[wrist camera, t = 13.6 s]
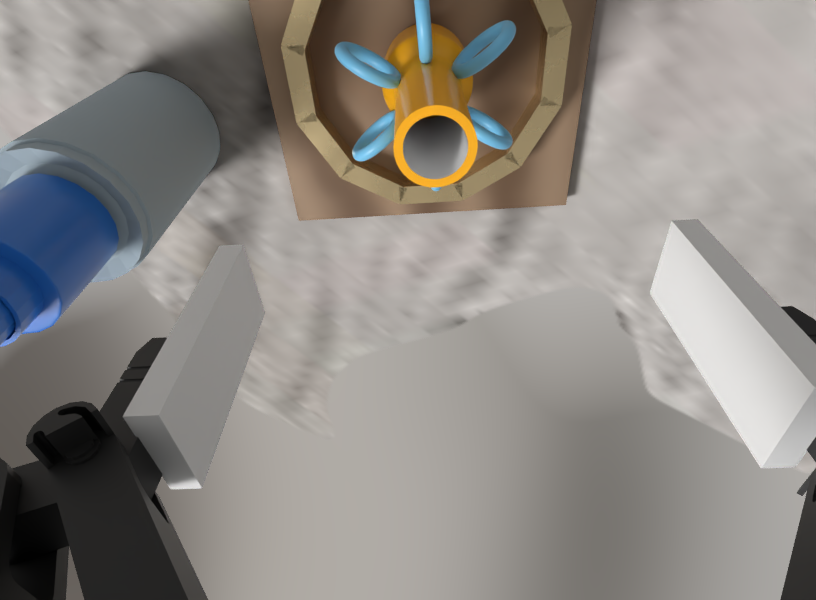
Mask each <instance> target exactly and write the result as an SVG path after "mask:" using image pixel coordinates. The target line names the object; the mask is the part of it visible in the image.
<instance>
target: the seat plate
mask: <svg viewBox="0 0 816 600" xmlns="http://www.w3.org/2000/svg"><path fill="white" fill-rule="evenodd" d="M562 1H563V4H564V6H565V9H566V11H567V14H568V16H569V18H570V21H571V23H572V24H571V25H572V29H571V36H570V44H569V52H568V60H567V68H566V76H565V84H564V92H563V99H562V105H561V108H560V109H559V111H558V112H557V114H556V115H555V117H554V118H553V120H552V121H551V123H550V124H549V126H548V127H547V129H546V130H545V132H544V133H543V134H542V136H541V137H540V139H539V140H538V142H537V143H536V145H535V146H534V148H533V149H532V151H531V152H530V154H529V155H528V157H527V158H526V160H525V161H524V163H523V164H522V166H520V168H518V169H517V170H515V171H513V172H511V173H510V174H508V175H506V176H505V177H503V178H501V179H499V180H498V181H496V182H494V183H492V184H491V185H489V186H487V187H486V188H484V189H482V190H480V191H479V192H477V193H475V194H474V195H472V196H470V197H468V198H467V199H465V200H463V199H462V201H449V202H433V203H416V204H400V203H399V204H397V203H395V202H393V201H391V200H388V199H386V198H384V197H382V196H379V195H377V194H375V193H373V192H370V191H368V190H366V189H364V188H361V187H359V186H357V185H355V184H352V183H350V182H348V181H346V180H343V179H341V178H340V177H339V176H338V174H337V173H336V172H335V171H334V169H333V168H332V167H331V166H330V164H329V163H328V162H327V161H326V160H325V158H324V157H323V156H322V155H321V153H320V152H319V151H318V150H317V148H316V147H315V146H314V145H313V143H312V142H311V141H310V140H309V138H308V137H307V136H306V135H305V133H304V132H303V131H302V130H301V128H300V127H299V126H298V125H297V123H296V118H295V113H294V109H293V104H292V99H291V94H290V89H289V84H288V79H287V74H286V69H285V64H284V59H283V55H282V50H281V46H282V45H281V43H282V40H283V36H284V33H285V30H286V27H287V23H288V20H289V17H290V13H291V10H292V7H293V3H294V0H249V5H250V9H251V14H252V18H253V22H254V27H255V31H256V35H257V40H258V44H259V49H260V53H261V57H262V62H263V66H264V70H265V75H266V79H267V83H268V88H269V92H270V97H271V101H272V105H273V110H274V114H275V118H276V123H277V127H278V132H279V136H280V140H281V145H282V149H283V153H284V158H285V162H286V167H287V171H288V175H289V180H290V184H291V188H292V193H293V197H294V201H295V206H296V210H297V215H298V219H299V221H301V220H318V219H335V218H352V217H368V216H385V215H402V214H419V213H436V212H453V211H470V210H487V209H504V208H521V207H538V206H554V205H566V200H567V194H568V187H569V180H570V174H571V167H572V160H573V154H574V147H575V141H576V134H577V127H578V121H579V114H580V107H581V101H582V94H583V87H584V81H585V74H586V67H587V61H588V54H589V47H590V41H591V34H592V27H593V21H594V14H595V7H596V1H597V0H562ZM429 5H430V17H431V23H434V24H438V25H441V26H443V27H445V28H447V29H448V30H450V31H451V32H452V33H454V34H455V35H456V37H457V38H458V39H459V40H460V42H461V44H462V45H463V47H464V48H465V47H466V46H467V45H468V44H469V43H470V42H471V41H472V40H474V39H475V38H476V37H477V36H478V35H480V34H481V33H482V32H484V31H485V30H486V29H488V28H490V27H491V26H493V25H495V24H496V23H499V22H501V21H505V20H509V21H512V22H513V23H514V24H515V26H516V33H515V36H514V38H513V40H512V42H511V43H510V44H509V46H508V47H507V48H506V49H505V50H504V51H503V52H502V53H501V54H500V55H499V56H498V57H497V58H496V59H495V60H494V61H493V62H491V63H490V64H489V65H488V66H486V67H485V68H483V69H482V70H481V71H479V72H477V73H476V74H474V75H473V89H472V94H471V97H470V100H469V102H468V104H467V106H470V107H473V108H475V109H477V110H479V111H481V112H483V113H485V114H487V115H488V116H490V117H491V118H493V119H494V120H496V121H497V122H498V123H500V124H501V125H502V126H503V127H504V128H505V129H506V130H507V131H508V132H509V133H510V132H511V131H512V129H513V128H514V126H515V124H516V123H517V121H518V120H519V118H520V116H521V115H522V113H523V112H524V110H525V108H526V107H527V105H528V104H529V102H530V100H531V99H532V97H533V96H534V94H535V89H536V78H537V67H538V56H539V46H540V35H541V26H540V24H539V22H538V19H537V17H536V15H535V12H534V10H533V8H532V6H531V3H530V1H529V0H429ZM415 24H416V17H415V5H414V0H324V1H323V4H322V7H321V10H320V13H319V16H318V19H317V22H316V25H315V28H314V31H313V34H312V37H311V40H310V43H309V47H310V53H311V59H312V64H313V70H314V76H315V82H316V88H317V94H318V99H319V105H320V108H321V110H322V111H323V112H324V114H325V115H326V116H327V118H328V119H329V120H330V122H331V123H332V124H333V126H334V127H335V128H336V130H337V131H338V132H339V134H340V135H341V136H342V137H343V139H344V140H345V141H346V143H347V144H348V145H349V147H350V148H351V149H352V151H353V148H354V146H355V144H356V142H357V141H358V139H359V138H360V137H361V136H362V135H363V133H364V132H365V131H366V130H367V129H368V128H369V127H370V126H371V125H372V124H373V123H375V122H376V121H377V120H378V119H380V118H381V117H382V116H384V115H385V114H387V113H389V112H391V111H390V110H389V108H388V106H387V104H386V102H385V99H384V96H383V91H382V87H380V86H377V85H375V84H372V83H370V82H368V81H366V80H364V79H362V78H360V77H359V76H357V75H355V74H354V73H352V72H351V71H350V70H348V69H347V68H346V67H344V66H343V65H342V64H341V63H340V62H339V60H338V59H337V57H336V55H335V47H336V45H337V44H338V43H340V42H351V43H354V44H357V45H360V46H362V47H365V48H367V49H369V50H371V51H373V52H374V53H376V54H378V55H379V56H381V57H383V58H384V59H385V56H386V53H387V50H388V48H389V46H390V44H391V43H392V41H393V40H394V39H395V37H396V36H397V35H398V34H399V33H401V32H402V31H403V30H405V29H406V28H408V27H410V26H412V25H415ZM491 43H492V42H491ZM491 43H490V44H491ZM490 44H489V45H490ZM489 45H487V46H486V47H485V48H483V49H482V50H481V51H480V52H479V53H478V54H480V53H481V52H482V51H483V50H484V49H486V48H487V47H488V46H489ZM478 54H477V55H478ZM477 55H475V56H477ZM475 56H474V57H475ZM474 57H473V58H474ZM362 62H363V61H362ZM364 63H365V62H364ZM365 64H367V63H365ZM367 65H368V64H367ZM369 66H370V65H369ZM370 67H372V66H370ZM372 68H374V67H372ZM374 69H375V68H374ZM485 129H486V128H485ZM382 132H383V131H382ZM382 132H381V133H382ZM381 133H380V134H381ZM380 134H379V135H380ZM379 135H378V136H379ZM378 136H377V137H378ZM377 137H376V138H377ZM376 138H375V139H376ZM375 139H374V140H375ZM374 140H373V141H374ZM477 142H478V148H477V154H476V158H475V160H474V162H475V161H476V160H478V159H480V158H481V157H483V156H485V155H486V154H488V153H490V152H491V151H493V150H494V149H496V148H494V147H491V146H489V145H487V144H485V143H483V142H481V141H479V140H478V139H477ZM393 146H394V140H393V141H392V142H391V143H390V144H389V145H388V146H386V147H385V148H384V149H383V150H382V151H381V152H379V153H378V154H377V155H375V156H374V157H372V158H370V159H368V160H369V161H372V162H374V163H376V164H378V165H380V166H382V167H385V168H387V169H389V170H391V171H393V172H395V173H398V174H400V175H402V176H405V175H404V174H403V173H402V172H401V170H400V169H399V167H398V165H397V163H396V160H395V157H394V149H393Z"/></svg>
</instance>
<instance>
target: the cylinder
mask: <svg viewBox="0 0 816 600" xmlns="http://www.w3.org/2000/svg"><path fill="white" fill-rule="evenodd" d="M414 5H415V17H416V24H415V25H412V26H410V27H408V28H406V29H405V30H403V31H402V32H401V33H399V34H398V35H397V36H396V37H395V39H394V40H393V41H392V43H391V44H390V46H389V48H388V50H387V53H386V56H385V59H384V58H383V57H381V56H379V55H378V54H376V53H374V52H373V51H371V50H369V49H367V48H365V47H362V46H360V45H357V44H354V43H351V42H340V43H338V44H337V45H336V47H335V55H336V57H337V59H338V60H339V62H340V63H341V64H342V65H343V66H344V67H346V68H347V69H348V70H350V71H351V72H352V73H354V74H355V75H357V76H359V77H360V78H362V79H364V80H366V81H368V82H370V83H372V84H375V85H377V86H380V87H382V91H383V96H384V99H385V102H386V104H387V106H388V108H389V110H390V111H391V112H389V113H387V114H385V115H384V116H382V117H381V118H380V119H378V120H377V121H376V122H375V123H373V124H372V125H371V126H370V127H369V128H368V129H367V130H366V131H365V132H364V133H363V135H362V136H361V137H360V138H359V139H358V141H357V142H356V144H355V146H354V148H353V151H352V155H353V157H354V159H355V160H357V161H366V160H368V159H370V158H372V157H374V156H375V155H377V154H378V153H379V152H381V151H382V150H383V149H384V148H385V147H386V146H388V145H389V144H390V143H391V142H392V141H393V140H394V146H393V149H394V157H395V160H396V163H397V165H398V167H399V169H400V170H401V172H402V173H403V174H404V175H405V176H406V177H407V178H408V179H410V180H411V181H413V182H414V183H416V184H419V185H421V186H425V187H431V189H432V190H433V191H439V190H440V189H441V187H443V186H447V185H450V184H452V183H454V182H456V181H458V180H459V179H461V178H462V177H463V176H464V175H465V174H466V173H467V172H468V171H469V169H470V168H471V166H472V165H473V163H474V160H475V158H476V154H477V148H478V142H477V139H478V140H479V141H481V142H483V143H485V144H487V145H489V146H491V147H494V148H497V149H501V150H505V149H508V148H510V147H511V145H512V143H513V139H512V136H511V134H510V133H509V132H508V131H507V130H506V129H505V128H504V127H503V126H502V125H501V124H500V123H498V122H497V121H496V120H494V119H493V118H491V117H490V116H488V115H487V114H485V113H483V112H481V111H479V110H477V109H475V108H473V107H470V106H467V104H468V102H469V100H470V97H471V94H472V89H473V75H474V74H476V73H477V72H479V71H481V70H482V69H483V68H485V67H486V66H488V65H489V64H490V63H491V62H493V61H494V60H495V59H496V58H497V57H498V56H499V55H500V54H501V53H502V52H503V51H504V50H505V49H506V48H507V47H508V46H509V44H510V43H511V42H512V40H513V38H514V36H515V33H516V26H515V24H514V23H513V22H512V21H509V20H505V21H501V22H499V23H496V24H495V25H493V26H491V27H490V28H488V29H486V30H485V31H484V32H482V33H481V34H480V35H478V36H477V37H476V38H475V39H474V40H472V41H471V42H470V43H469V44H468V45H467V46H466V47H465V48H464V47H463V45H462V44H461V42H460V40H459V39H458V38H457V37H456V35H455V34H454V33H452V32H451V31H450V30H448V29H447V28H445V27H443V26H441V25H438V24H434V23H431V17H430V5H429V0H414ZM491 42H492V43H491ZM490 43H491V44H490ZM489 44H490V45H489ZM487 45H489V46H488V47H487V48H486V49H484V50H483V51H482V52H481V53H480V54H478V53H479V52H480V51H481V50H482V49H483V48H485V47H486V46H487ZM477 54H478V55H477ZM475 55H477V56H475ZM474 56H475V57H474ZM473 57H474V58H473ZM362 61H363V62H362ZM364 62H365V63H367V64H368V65H367V64H365V63H364ZM369 65H370V66H372V67H374V68H375V69H374V68H372V67H370V66H369ZM485 128H486V129H485ZM382 131H383V132H382ZM381 132H382V133H381ZM380 133H381V134H380ZM379 134H380V135H379ZM378 135H379V136H378ZM377 136H378V137H377ZM376 137H377V138H376ZM375 138H376V139H375ZM374 139H375V140H374ZM373 140H374V141H373Z"/></svg>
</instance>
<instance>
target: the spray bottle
mask: <svg viewBox="0 0 816 600" xmlns="http://www.w3.org/2000/svg"><path fill="white" fill-rule="evenodd" d="M219 152H220V135H219V130H218V127H217V125H216V122H215V120H214V117H213V114H212V113H211V112H210V110H209V109H208V108H207V106H206V105H205V103H204V102H203V101H202V99H201V98H200V97H199V96H198V95H197V94H195V93H194V92H193V91H192V90H191V89H189V88H188V87H187V86H186V85H185V84H183V83H181V82H179V81H177V80H175V79H173V78H171V77H169V76H167V75H164V74H159V73H153V72H148V71H143V72H136V73H130V74H127V75H125V76H123V77H121V78H120V79H118V80H116V81H115V82H113V83H111V84H109V85H108V86H106V87H104V88H103V89H101V90H99V91H97V92H96V93H94V94H92V95H91V96H89V97H87V98H86V99H84V100H82V101H80V102H79V103H77V104H75V105H74V106H72V107H70V108H68V109H67V110H65V111H63V112H62V113H60V114H58V115H56V116H55V117H53V118H51V119H50V120H48V121H46V122H44V123H43V124H41V125H39V126H38V127H36V128H34V129H33V130H31V131H29V132H27V133H26V134H24V135H22V136H21V137H19V138H17V139H15V140H14V141H12V142H10V143H9V144H8V145H6V146H4V147H2V148H1V149H0V346H6V345H8V344H10V343H12V342H14V341H15V340H16V339H17V338H18V337H19V336H20V335H21V334H25V333H34V332H40V331H42V330H44V329H47V328H49V327H51V326H53V325H54V324H55V323H56V321H57V320H58V319H59V318H60V316H61V315H62V314H63V313H64V312H65V311H66V310H67V308H68V307H69V306H70V305H71V304H72V303H73V302H74V300H75V299H76V298H77V297H78V296H79V294H80V293H81V292H82V291H83V289H85V287H86V286H87V285H88V284H89V283H90V282H99V281H107V280H113V279H115V278H117V277H119V276H121V275H124V274H126V273H128V272H129V271H130V270H131V269H133V268H135V267H137V266H138V265H139V264H140V263H141V262H142V260H143V259H144V258H145V257H146V256H147V255H148V253H149V252H150V251H151V249H152V248H153V247H154V245H155V244H156V243H157V241H158V240H159V239H160V237H161V236H162V235H163V233H164V232H165V231H166V229H167V228H168V227H169V225H170V224H171V223H172V221H173V220H174V219H175V217H176V216H177V215H178V213H179V212H180V211H181V209H182V208H183V207H184V205H185V204H186V203H187V201H188V200H189V199H190V197H191V196H192V195H193V193H194V192H195V191H196V189H197V188H198V187H199V186H200V184H201V183H202V182H203V180H204V179H205V178H206V176H207V175H208V174H209V172H210V171H211V170H212V168H213V167H214V166H215V164H216V162H217V158H218V155H219Z"/></svg>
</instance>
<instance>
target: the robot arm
mask: <svg viewBox="0 0 816 600" xmlns="http://www.w3.org/2000/svg"><path fill="white" fill-rule="evenodd" d="M650 294H651V296H652V297H653V299H654V301H655V302H656V304H657V305H658V307H659V309H660V310H661V312H662V313H663V315H664V316H665V318H666V320H667V321H668V323H669V324H670V326H671V327H672V329H673V331H674V332H675V334H676V335H677V337H678V338H679V340H680V342H681V343H682V345H683V346H684V348H685V349H686V351H687V353H688V354H689V356H690V357H691V359H692V360H693V362H694V364H695V365H696V367H697V368H698V370H699V371H700V373H701V375H702V376H703V378H704V379H705V381H706V382H707V384H708V386H709V387H710V389H711V390H712V392H713V393H714V395H715V397H716V398H717V400H718V401H719V403H720V404H721V406H722V408H723V409H724V411H725V412H726V414H727V415H728V417H729V419H730V420H731V422H732V423H733V425H734V426H735V428H736V430H737V431H738V433H739V434H740V436H741V437H742V439H743V441H744V442H745V444H746V445H747V447H748V448H749V450H750V452H751V453H752V455H753V456H754V458H755V459H756V461H757V463H758V464H759V466H760V467H761V468H787V467H796V466H797V464H798V463H799V462H800V460H801V459H802V458H803V456H804V455H805V454H806V452H807V451H808V452H809V454H810V455H811V456H812V458H813V459H814V460H815V462H816V321H815V320H814V319H813V318H811V317H810V316H808V315H806V314H805V313H803V312H801V311H800V310H798V309H796V308H794V307H793V306H787V307H780V306H779V305H778V304H777V303H776V302H775V301H774V300H773V299H772V297H771V296H770V295H769V294H768V293H767V292H766V291H765V290H764V289H763V288H762V287H761V286H760V285H759V284H758V283H757V282H756V281H755V279H754V278H753V277H752V276H751V275H750V274H749V273H748V272H747V271H746V270H745V269H744V268H743V267H742V266H741V265H740V264H739V263H738V261H737V260H736V259H735V258H734V257H733V256H732V255H731V254H730V253H729V252H728V251H727V250H726V249H725V248H724V247H723V246H722V245H721V244H720V242H719V241H718V240H717V239H716V238H715V237H714V236H713V235H712V234H711V233H710V232H709V231H708V230H707V229H706V228H705V227H704V226H703V224H702V223H701V222H700V221H699V220H698V219H695V220H676V221H671V225H670V228H669V231H668V235H667V238H666V241H665V244H664V248H663V251H662V254H661V258H660V261H659V264H658V268H657V271H656V274H655V277H654V281H653V284H652V287H651V291H650ZM264 314H265V310H264V307H263V304H262V301H261V298H260V295H259V291H258V288H257V285H256V282H255V279H254V276H253V273H252V269H251V266H250V263H249V260H248V257H247V254H246V251H245V247H244V244H243V245H225V246H219V248H218V249H217V251H216V253H215V255H214V256H213V258H212V260H211V262H210V263H209V265H208V267H207V269H206V270H205V272H204V274H203V276H202V278H201V279H200V281H199V283H198V285H197V286H196V288H195V290H194V292H193V293H192V295H191V297H190V299H189V300H188V302H187V304H186V306H185V307H184V309H183V311H182V313H181V314H180V316H179V318H178V320H177V322H176V323H175V325H174V327H173V329H172V331H171V332H170V334H169V336H168V337H167V338H152V339H151V340H150V341H149V342H147V343H146V344H145V345H144V346H143V347H142V348H141V349H139V350H138V351H137V352H136V354H135V355H134V357H133V359H132V360H131V362H130V364H129V365H128V367H127V370H125V371H124V373H123V375H122V376H121V378H120V382H119V383H117V385H116V386H115V388H114V389H113V391H112V392H111V394H110V396H109V398H108V399H107V401H106V402H105V404H104V405H103V407H102V409H101V410H100V412H99V411H98V409H97V408H96V407H95V406H94V405H93V404H92V403H87V402H83V401H82V402H73V403H68V404H66V405H63V406H60V407H58V408H56V409H54V410H52V411H51V412H49V413H48V414H46V415H44V416H43V417H42V418H41V419H40V420H39V421H38V422H37V423H36V424H35V425H33V427H32V429H31V430H30V432H29V434H28V435H27V441H26V446H27V447H28V448H29V449H30V450H31V452H32V453H33V454H34V455H35V456H36V457H37V458H38V459H39V461H36V462H33V463H29V464H26V465H22V466H19V467H16V468H11V467H10V466H9V465H8V464H7V463H6V462H5V461H3V460H2V459H1V458H0V600H66V587H67V570H68V554H69V547H70V550H71V554H72V557H73V561H74V564H75V568H76V571H77V575H78V578H79V581H80V585H81V589H82V593H83V596H84V600H208V598H207V596H206V594H205V592H204V590H203V588H202V586H201V584H200V582H199V579H198V577H197V576H196V573H195V571H194V569H193V567H192V565H191V562H190V560H189V559H188V556H187V554H186V552H185V550H184V548H183V546H182V544H181V542H180V539H179V537H178V535H177V533H176V531H175V529H174V527H173V525H172V522H171V520H170V518H169V516H168V514H167V512H166V510H165V508H164V506H163V504H162V502H161V499H160V497H159V496H158V494H157V493H156V492H155V490H156V488H157V486H158V484H159V482H160V479H161V477H163V478H164V480H165V481H166V483H167V484H168V486H169V487H170V489H193V488H202V487H203V484H204V481H205V478H206V476H207V473H208V470H209V467H210V464H211V462H212V459H213V456H214V453H215V450H216V447H217V445H218V442H219V439H220V436H221V434H222V431H223V428H224V425H225V423H226V420H227V417H228V414H229V411H230V409H231V406H232V403H233V400H234V398H235V395H236V392H237V389H238V386H239V384H240V381H241V378H242V375H243V372H244V370H245V367H246V364H247V361H248V359H249V356H250V353H251V350H252V347H253V345H254V342H255V339H256V336H257V333H258V331H259V328H260V325H261V322H262V319H263V317H264ZM806 491H807V494H806V498H805V502H804V506H803V510H802V514H801V519H800V523H799V526H798V531H797V535H796V539H795V543H794V547H793V551H792V555H791V559H790V563H789V567H788V571H787V575H786V580H785V584H784V588H783V592H782V596H781V600H816V468H815V470H814V471H813V472H812V473H811V475H810V476H809V477H808V479H807V480H806V481H805V482H804V484H803V485H802V486H801V488H800V489H799V490H798V492H797V493H798V494H799V495H801V496H803V495H804V493H805V492H806Z"/></svg>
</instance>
